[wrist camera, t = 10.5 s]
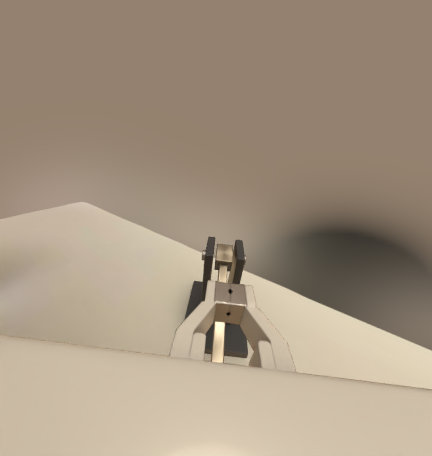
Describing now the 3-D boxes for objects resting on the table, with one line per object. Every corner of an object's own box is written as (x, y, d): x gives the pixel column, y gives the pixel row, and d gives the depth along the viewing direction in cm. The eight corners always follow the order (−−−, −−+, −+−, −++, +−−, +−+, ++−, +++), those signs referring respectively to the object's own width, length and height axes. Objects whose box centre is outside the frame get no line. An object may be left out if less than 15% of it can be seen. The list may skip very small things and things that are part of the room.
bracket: (246, 358, 23) (273, 287, 16) (178, 349, 23) (175, 275, 16) (240, 290, 33) (255, 229, 26) (193, 284, 33) (196, 223, 26)
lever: (245, 389, 14) (251, 390, 12) (184, 382, 14) (181, 381, 12) (241, 256, 24) (244, 246, 22) (205, 252, 24) (206, 242, 22)
